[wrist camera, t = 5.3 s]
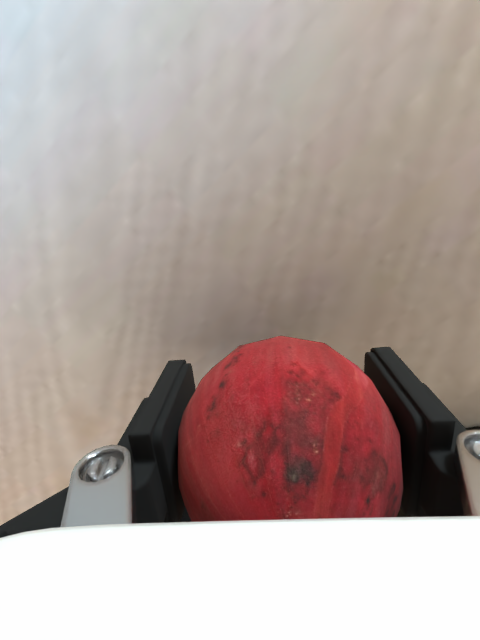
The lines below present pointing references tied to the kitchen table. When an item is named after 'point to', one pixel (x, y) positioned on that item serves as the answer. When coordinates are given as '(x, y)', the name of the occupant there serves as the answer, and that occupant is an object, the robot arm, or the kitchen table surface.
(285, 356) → the onion
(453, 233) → the kitchen table surface
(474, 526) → the robot arm
